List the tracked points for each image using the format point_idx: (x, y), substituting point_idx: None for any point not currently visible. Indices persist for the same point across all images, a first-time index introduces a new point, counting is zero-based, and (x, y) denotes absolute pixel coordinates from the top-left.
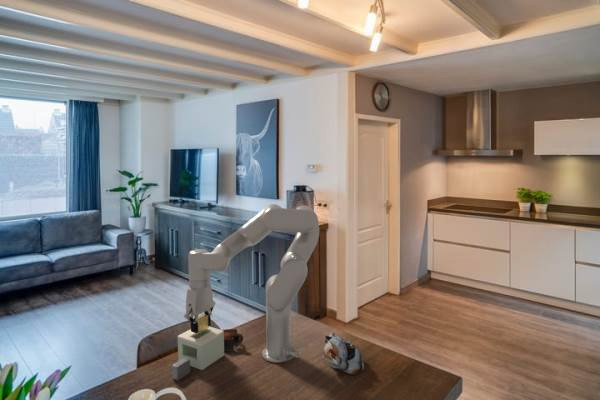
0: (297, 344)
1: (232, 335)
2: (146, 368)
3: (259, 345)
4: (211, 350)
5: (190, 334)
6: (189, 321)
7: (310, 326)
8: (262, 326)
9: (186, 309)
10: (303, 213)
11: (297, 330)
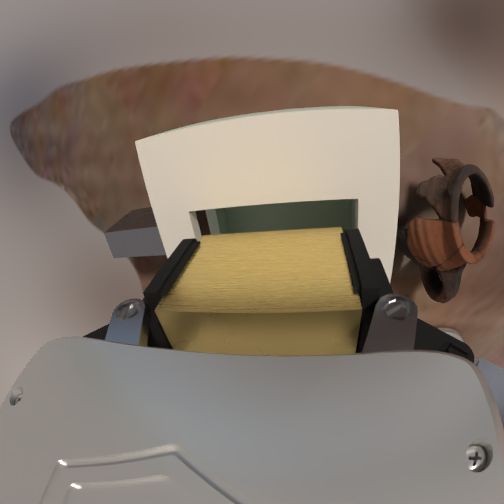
0: (474, 356)
1: (439, 268)
2: (100, 86)
3: (459, 296)
4: None
5: (210, 193)
6: (120, 308)
7: None
8: None
9: (22, 394)
10: None
11: None
